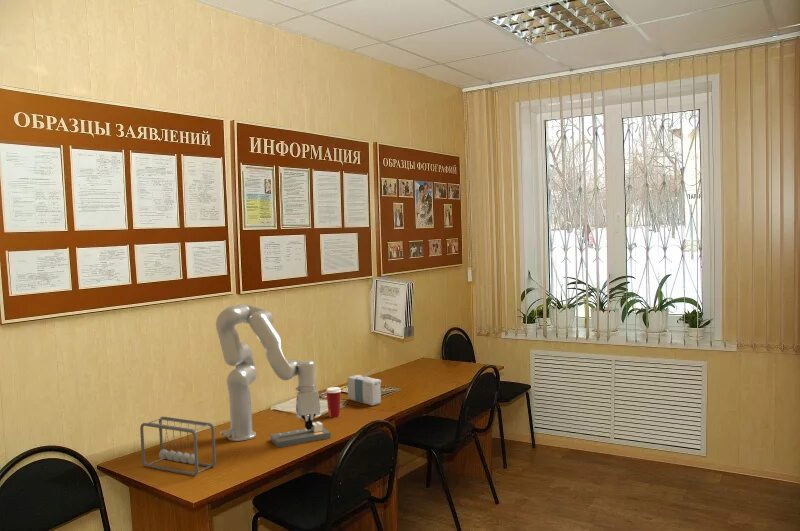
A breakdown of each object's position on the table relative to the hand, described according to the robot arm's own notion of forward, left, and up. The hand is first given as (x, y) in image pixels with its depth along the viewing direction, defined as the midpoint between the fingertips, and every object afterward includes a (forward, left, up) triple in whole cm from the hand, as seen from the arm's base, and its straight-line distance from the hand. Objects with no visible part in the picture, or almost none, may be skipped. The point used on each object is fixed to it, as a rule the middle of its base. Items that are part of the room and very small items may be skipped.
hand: (308, 428), depth 275 cm
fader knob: (+4, 0, -1) cm, 4 cm away
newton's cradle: (-56, -6, -4) cm, 57 cm away
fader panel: (-4, 0, -4) cm, 6 cm away
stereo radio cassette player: (+46, +42, -4) cm, 63 cm away
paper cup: (+22, +26, -4) cm, 34 cm away
